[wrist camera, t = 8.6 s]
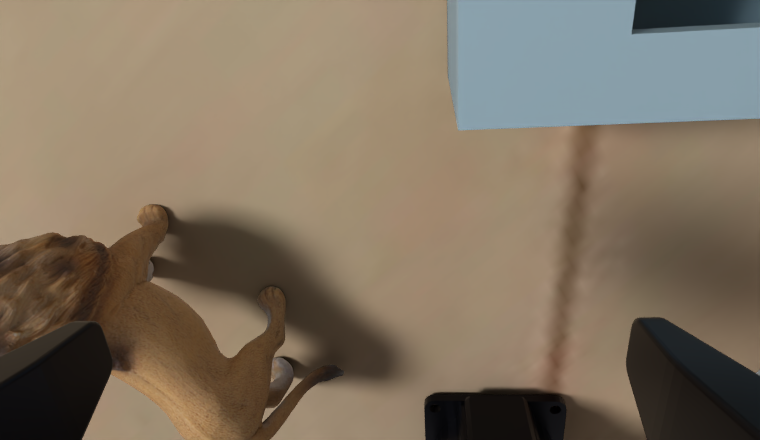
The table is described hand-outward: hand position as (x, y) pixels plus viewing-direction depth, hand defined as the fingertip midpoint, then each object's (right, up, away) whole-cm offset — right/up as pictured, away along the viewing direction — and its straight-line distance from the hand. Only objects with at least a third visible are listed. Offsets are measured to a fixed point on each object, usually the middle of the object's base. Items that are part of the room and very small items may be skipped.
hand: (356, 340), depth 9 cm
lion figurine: (-8, -1, +15) cm, 17 cm away
